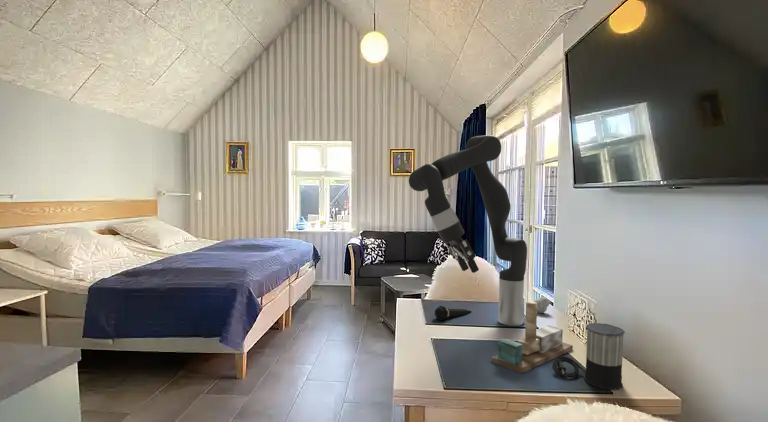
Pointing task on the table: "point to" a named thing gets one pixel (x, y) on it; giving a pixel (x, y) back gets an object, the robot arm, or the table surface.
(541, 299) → the frog figurine
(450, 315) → the microphone
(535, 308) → the cream l-shaped piece
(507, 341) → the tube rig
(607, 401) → the table surface
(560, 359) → the milk frother
